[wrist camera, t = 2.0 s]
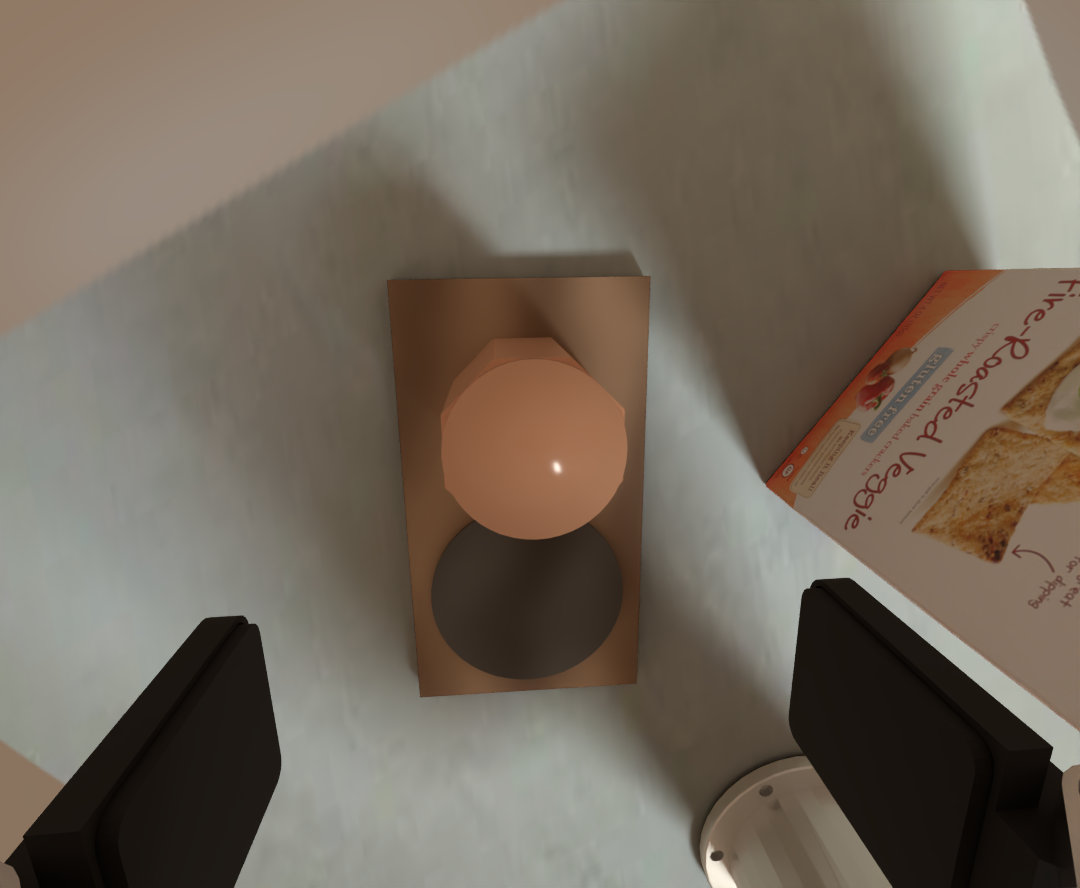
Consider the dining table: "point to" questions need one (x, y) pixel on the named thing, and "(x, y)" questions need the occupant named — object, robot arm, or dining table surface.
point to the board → (501, 561)
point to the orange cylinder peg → (531, 440)
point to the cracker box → (967, 470)
